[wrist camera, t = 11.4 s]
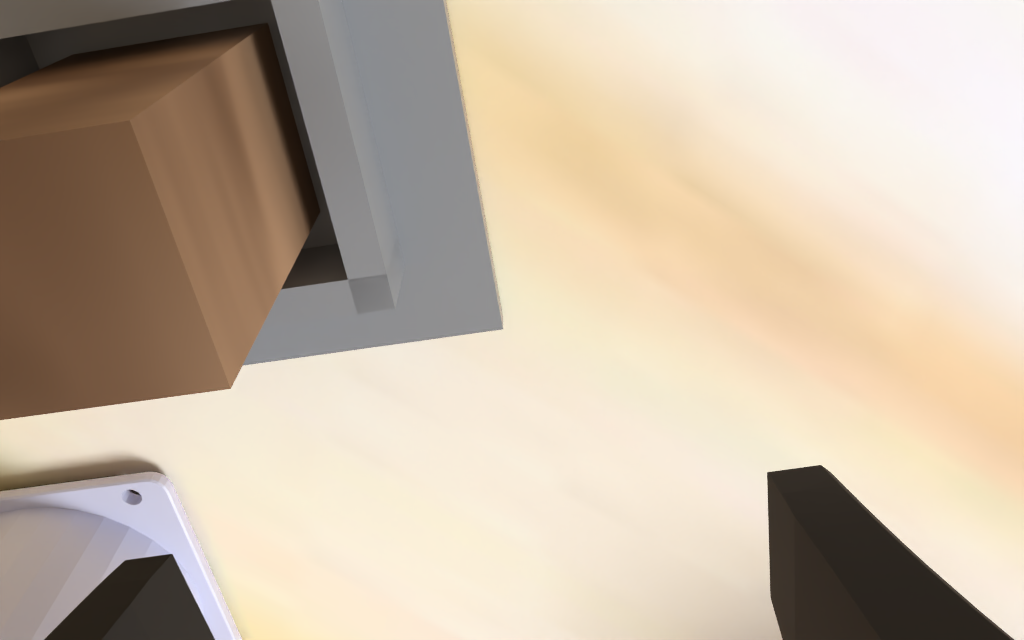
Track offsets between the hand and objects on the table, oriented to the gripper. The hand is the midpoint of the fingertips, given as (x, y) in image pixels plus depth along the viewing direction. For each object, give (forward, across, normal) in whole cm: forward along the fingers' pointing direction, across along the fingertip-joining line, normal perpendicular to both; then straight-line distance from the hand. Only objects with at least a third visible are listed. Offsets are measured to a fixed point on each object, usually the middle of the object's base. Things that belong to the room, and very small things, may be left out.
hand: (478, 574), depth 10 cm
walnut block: (+10, +6, -4) cm, 12 cm away
